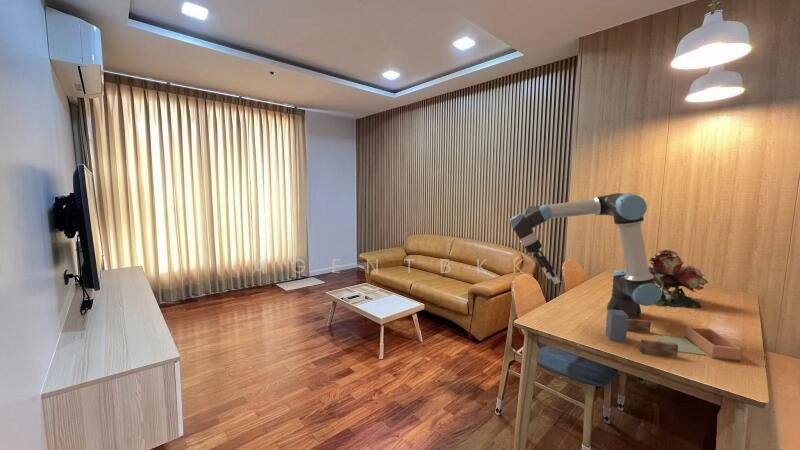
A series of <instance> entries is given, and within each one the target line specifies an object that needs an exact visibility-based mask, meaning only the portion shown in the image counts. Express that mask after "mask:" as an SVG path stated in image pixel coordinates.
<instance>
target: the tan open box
mask: <svg viewBox="0 0 800 450" xmlns="http://www.w3.org/2000/svg"><path fill="white" fill-rule="evenodd" d="M685 339H687V340H688V341H689V342H691V343H692V344H693V345H694V346H696V347H697V348H698V349H699V350H701V351H702V352H703V353H705V354H706V355H707V356H708V357H710V358H711V359H713V360H714V359H715V360H725V361H731V362H741V360H742V359H741V358H742V357H741V356H742V348H741V347H739V346H738V345H736V344H735V343H733V342H731V341H730V340H728V339H727V338H725V337H723V336H722V335H721V334H719V332H716V331H715V330H713V329H710V328H700V327H692V326H686V329H685Z"/></svg>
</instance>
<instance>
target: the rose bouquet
mask: <svg viewBox="0 0 800 450" xmlns="http://www.w3.org/2000/svg"><path fill="white" fill-rule="evenodd" d="M654 255H655V257H650V258H649V260H648V261H649V264H650V266H648V269H649V272H650V273H651V274H653V275H654V280H655V284H656V285H657V286H658V287H659V288H660V289H661V292H662V295H661V298H660V300H658V301H657V303H655V304H654V305H656V306H657V307H662V308H665V307H669V308H684V307H686V308H697V307H702V304H701V302H699V301H697V300H696V298H695V299H693V298H691V297H689V296H687V295H686V294H685V292H684V290H683V288H686V289H687V290H689V291H691V292H693V293H697V294H699V295H700V293H699V292H698V291H701V290H704V286H705V284H709V281H708V280H707V279H706V278H705V277H704V276H706V274H704V273H702V271H701V270H700V269H699V268H698V267H695V266H693V265H687V266H685V265H684V266H683V264H684V261H682V257H680V256H679V253H678V252H677V251H676V250H673V249H672V250H671V249H664V250H659V251H658V253H656V254H654ZM682 287H683V288H682ZM671 288H672V289H673V290H670V289H671Z"/></svg>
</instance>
